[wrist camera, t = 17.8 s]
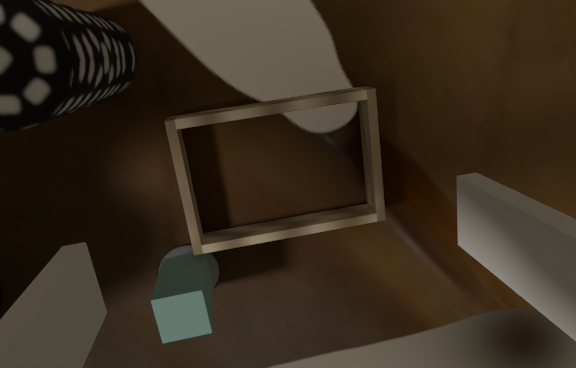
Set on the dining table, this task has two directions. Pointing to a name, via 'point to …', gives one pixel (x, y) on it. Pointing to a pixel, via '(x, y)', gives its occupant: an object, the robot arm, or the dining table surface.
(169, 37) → the dining table surface
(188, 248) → the coaster
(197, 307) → the block
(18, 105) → the white-spotted black cylinder
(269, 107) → the tray
